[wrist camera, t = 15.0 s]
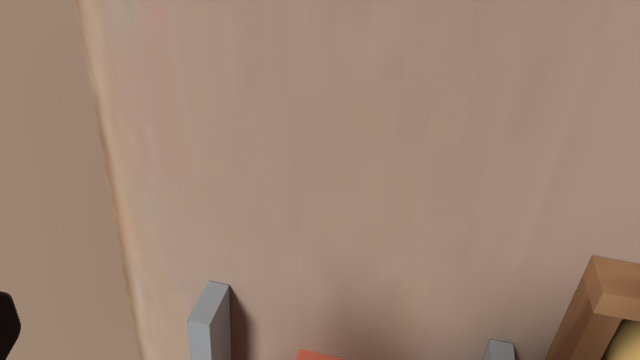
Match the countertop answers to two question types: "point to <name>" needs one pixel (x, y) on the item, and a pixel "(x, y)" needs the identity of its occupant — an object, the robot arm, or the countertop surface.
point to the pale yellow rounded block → (624, 342)
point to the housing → (598, 309)
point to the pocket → (215, 333)
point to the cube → (314, 356)
